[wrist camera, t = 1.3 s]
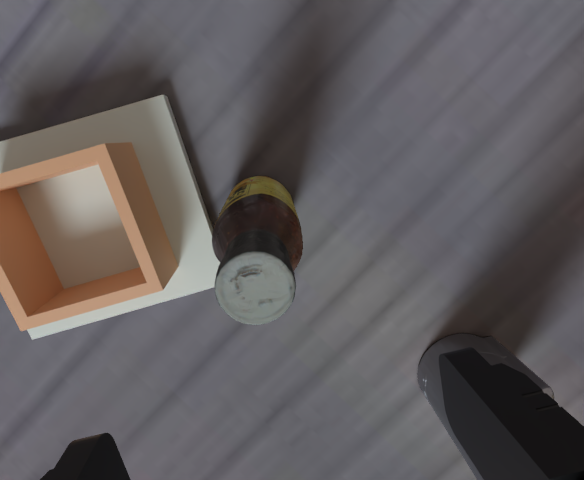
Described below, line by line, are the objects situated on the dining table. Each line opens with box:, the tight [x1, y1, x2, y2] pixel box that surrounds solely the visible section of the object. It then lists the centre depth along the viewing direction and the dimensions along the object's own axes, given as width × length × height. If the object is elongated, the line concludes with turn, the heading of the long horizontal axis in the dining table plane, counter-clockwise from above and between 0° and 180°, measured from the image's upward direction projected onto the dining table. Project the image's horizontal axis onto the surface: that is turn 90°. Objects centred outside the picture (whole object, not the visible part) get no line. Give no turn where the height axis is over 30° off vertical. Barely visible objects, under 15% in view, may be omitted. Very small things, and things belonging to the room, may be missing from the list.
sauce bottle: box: [212, 176, 303, 325], centre depth 28 cm, size 7×6×20 cm
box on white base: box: [0, 95, 220, 340], centre depth 34 cm, size 20×18×8 cm
